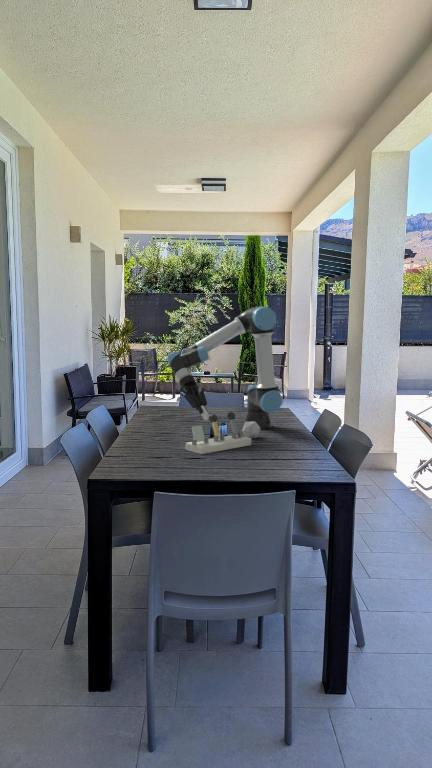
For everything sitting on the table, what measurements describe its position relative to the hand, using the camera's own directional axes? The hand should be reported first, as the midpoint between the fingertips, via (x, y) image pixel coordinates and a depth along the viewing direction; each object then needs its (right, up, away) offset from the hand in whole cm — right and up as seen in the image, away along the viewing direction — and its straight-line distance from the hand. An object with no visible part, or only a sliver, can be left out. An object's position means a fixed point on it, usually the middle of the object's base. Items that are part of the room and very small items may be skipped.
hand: (207, 418), depth 256 cm
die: (+21, -11, +18) cm, 30 cm away
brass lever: (+6, -10, -5) cm, 12 cm away
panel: (+6, -13, -5) cm, 15 cm away
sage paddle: (-3, -10, -12) cm, 16 cm away
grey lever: (+14, -9, +2) cm, 17 cm away
